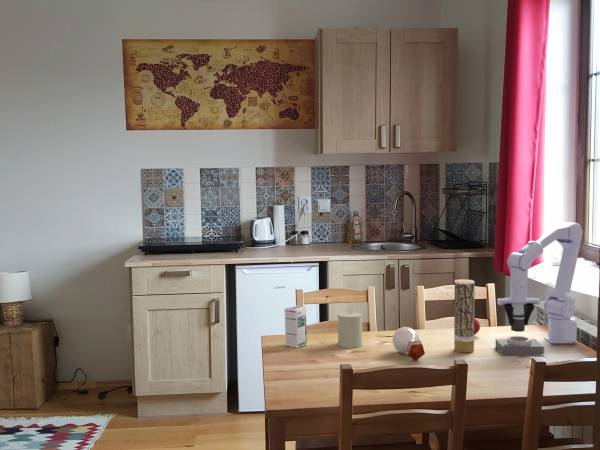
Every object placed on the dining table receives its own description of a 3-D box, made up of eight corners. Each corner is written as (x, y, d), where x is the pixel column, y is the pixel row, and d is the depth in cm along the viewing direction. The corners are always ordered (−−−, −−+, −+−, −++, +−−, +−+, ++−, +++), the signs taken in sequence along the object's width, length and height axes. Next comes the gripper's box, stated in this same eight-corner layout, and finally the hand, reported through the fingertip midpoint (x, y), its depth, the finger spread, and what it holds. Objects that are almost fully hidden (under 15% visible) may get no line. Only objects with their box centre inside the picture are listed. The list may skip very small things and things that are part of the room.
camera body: (534, 346, 249) (534, 334, 249) (543, 355, 239) (543, 342, 239) (495, 347, 250) (495, 334, 249) (502, 355, 240) (502, 342, 239)
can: (362, 341, 261) (362, 310, 259) (362, 348, 252) (362, 315, 250) (338, 341, 262) (337, 310, 260) (337, 348, 252) (336, 315, 251)
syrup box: (297, 348, 252) (297, 309, 251) (285, 346, 256) (284, 307, 254) (307, 345, 257) (306, 306, 255) (294, 342, 260) (293, 304, 259)
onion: (481, 338, 263) (481, 317, 262) (466, 338, 263) (466, 317, 262) (477, 334, 269) (478, 313, 268) (462, 334, 269) (463, 313, 268)
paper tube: (474, 353, 242) (474, 283, 240) (454, 353, 243) (454, 282, 241) (473, 348, 249) (474, 279, 246) (454, 347, 250) (454, 279, 248)
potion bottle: (403, 352, 250) (419, 369, 236) (383, 339, 247) (397, 355, 233) (418, 331, 250) (435, 347, 236) (398, 318, 247) (414, 333, 233)
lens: (522, 328, 249) (522, 313, 248) (526, 331, 244) (526, 316, 243) (509, 328, 249) (509, 313, 248) (512, 331, 244) (513, 316, 244)
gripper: (535, 284, 248) (535, 321, 250) (495, 284, 249) (494, 322, 250) (542, 288, 241) (541, 326, 243) (500, 288, 242) (500, 326, 243)
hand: (518, 324), depth 246 cm, fingers closed on lens, 5 cm apart
